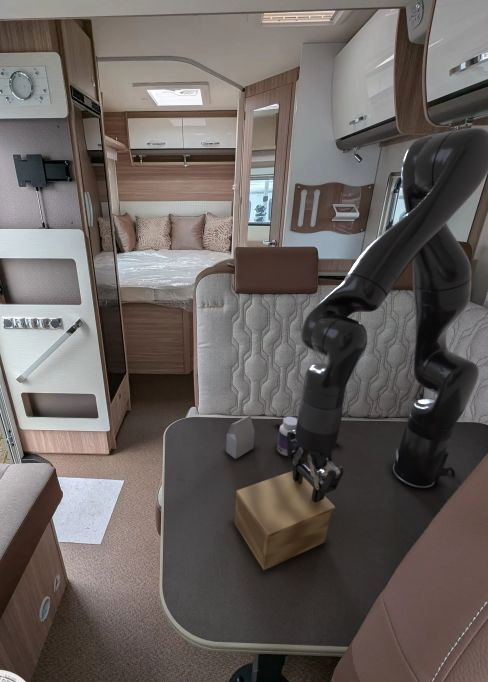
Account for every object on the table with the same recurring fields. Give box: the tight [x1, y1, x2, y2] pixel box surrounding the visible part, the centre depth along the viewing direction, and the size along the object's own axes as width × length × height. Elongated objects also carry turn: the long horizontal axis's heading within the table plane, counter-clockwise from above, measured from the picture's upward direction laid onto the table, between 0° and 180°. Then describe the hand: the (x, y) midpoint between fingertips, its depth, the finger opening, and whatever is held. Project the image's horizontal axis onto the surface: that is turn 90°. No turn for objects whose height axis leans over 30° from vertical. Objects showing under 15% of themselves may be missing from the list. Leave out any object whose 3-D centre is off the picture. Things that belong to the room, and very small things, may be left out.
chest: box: [234, 493, 332, 571], centre depth 74 cm, size 15×12×9 cm
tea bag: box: [225, 414, 255, 460], centre depth 97 cm, size 4×7×10 cm, turn 131°
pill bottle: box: [276, 416, 297, 457], centre depth 97 cm, size 5×5×10 cm
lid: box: [235, 463, 336, 538], centre depth 71 cm, size 15×12×6 cm
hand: (306, 488), depth 73 cm, fingers closed on lid, 5 cm apart
